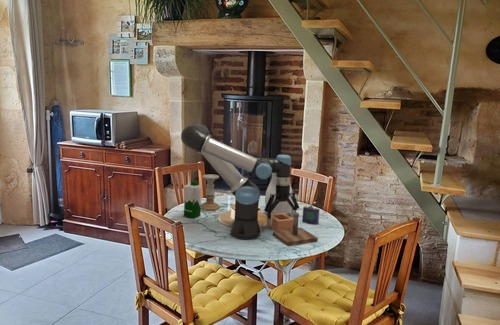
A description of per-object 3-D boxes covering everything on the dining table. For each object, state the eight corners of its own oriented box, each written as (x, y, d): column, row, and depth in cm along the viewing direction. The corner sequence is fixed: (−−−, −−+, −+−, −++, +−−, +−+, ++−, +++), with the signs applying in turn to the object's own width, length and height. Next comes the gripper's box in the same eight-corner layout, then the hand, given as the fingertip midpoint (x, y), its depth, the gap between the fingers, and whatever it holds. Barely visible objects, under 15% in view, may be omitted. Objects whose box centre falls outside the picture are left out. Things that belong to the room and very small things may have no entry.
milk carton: (202, 215, 217) (203, 181, 213) (194, 219, 208) (195, 184, 205) (189, 212, 220) (190, 179, 216) (181, 217, 212) (181, 182, 208)
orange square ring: (277, 232, 194) (278, 221, 193) (266, 225, 205) (267, 214, 204) (294, 230, 199) (294, 219, 197) (282, 223, 209) (283, 212, 208)
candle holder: (195, 208, 229) (196, 176, 226) (208, 203, 239) (208, 173, 236) (211, 212, 223) (212, 179, 219) (223, 207, 233) (224, 175, 230)
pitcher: (286, 219, 215) (289, 172, 210) (259, 214, 222) (262, 168, 217) (299, 209, 236) (302, 166, 231) (274, 205, 243) (277, 163, 238)
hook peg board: (287, 246, 177) (289, 218, 174) (272, 235, 190) (273, 209, 188) (317, 241, 184) (319, 215, 182) (300, 231, 197) (302, 206, 195)
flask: (318, 223, 211) (320, 205, 209) (317, 225, 208) (319, 206, 206) (302, 221, 214) (303, 203, 212) (301, 222, 211) (302, 204, 210)
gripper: (265, 187, 189) (264, 228, 192) (306, 183, 200) (304, 222, 203) (258, 184, 196) (257, 223, 199) (299, 181, 206) (297, 218, 210)
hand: (281, 222), depth 201 cm, fingers open, 13 cm apart
